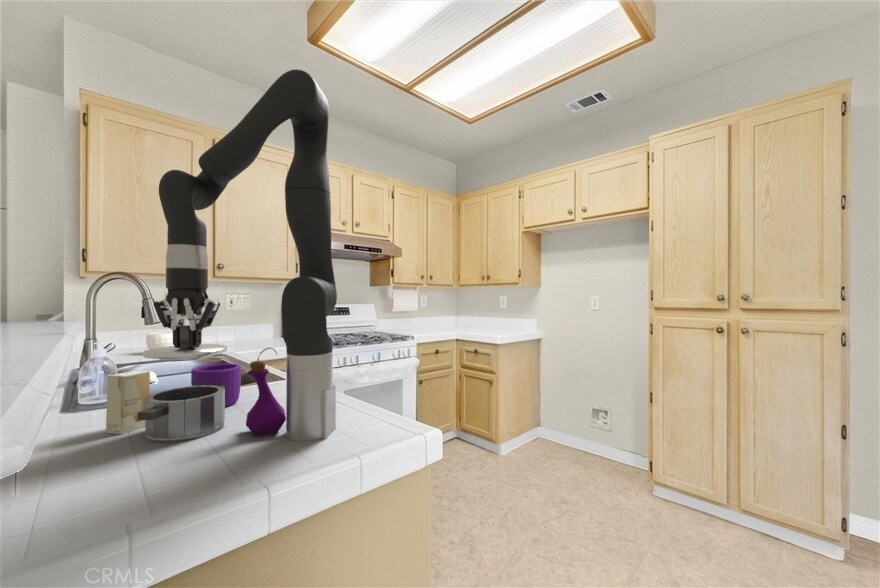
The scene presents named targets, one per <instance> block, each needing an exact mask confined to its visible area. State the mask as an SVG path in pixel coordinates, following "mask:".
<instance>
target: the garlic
mask: <svg viewBox="0 0 880 588" xmlns="http://www.w3.org/2000/svg"><path fill="white" fill-rule="evenodd" d="M149 372H150V384H152V385H157V384H158V382H159V379H158V378H157V374H156V373H155V372H154V371H149Z"/></svg>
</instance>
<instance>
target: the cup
mask: <svg viewBox="0 0 880 588" xmlns="http://www.w3.org/2000/svg"><path fill="white" fill-rule="evenodd" d="M145 340H146V341H145V344H146V347H147V349H148V350H149V349H154V348H161V347H169V346H174V345H173V331H157V332H149V333H147V335H146V338H145Z"/></svg>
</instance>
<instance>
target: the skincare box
mask: <svg viewBox="0 0 880 588" xmlns="http://www.w3.org/2000/svg"><path fill="white" fill-rule="evenodd" d="M150 372H151V371H147V370H133V371H128V372H121V373H114V374H109V375H107V378H106V380H107V383H106V385H107V386H106V418H105V419H106V420H105V423H106V424H105V433H106V434H114V435H124V434H125V435H126V434H127V433H131V432H133V431H137V430H140V429H143V428H145V420H137V419H138V412H140V411H143V410H145V398H146V397H147V396H149V395H150V394H151V393H150V389H151V388H150V387H151V386H150V385H151V383H150Z"/></svg>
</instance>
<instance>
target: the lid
mask: <svg viewBox="0 0 880 588" xmlns="http://www.w3.org/2000/svg"><path fill="white" fill-rule="evenodd" d="M190 331H192V330H191V329H190V324H188V325H187V324H185V325H183V326H179V348H175V347H174V346H169V347H161V348H154V349H149V348H148V349H145V350H143V351H142V357H143V358H145V359H154V360H155V359H158V360H159V361H162V362H186V361H187V362H188V361H197V360H204V359H209V358H212V357H213V356H214V355H219V354H223V353H225V352H227V351H228V346H227V345H225V344H216V343H215V344H214V343H210V344H209V343H207V344H205V343H204V344H203V343H201V345H200V346H199V347H197V348H190Z"/></svg>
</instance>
